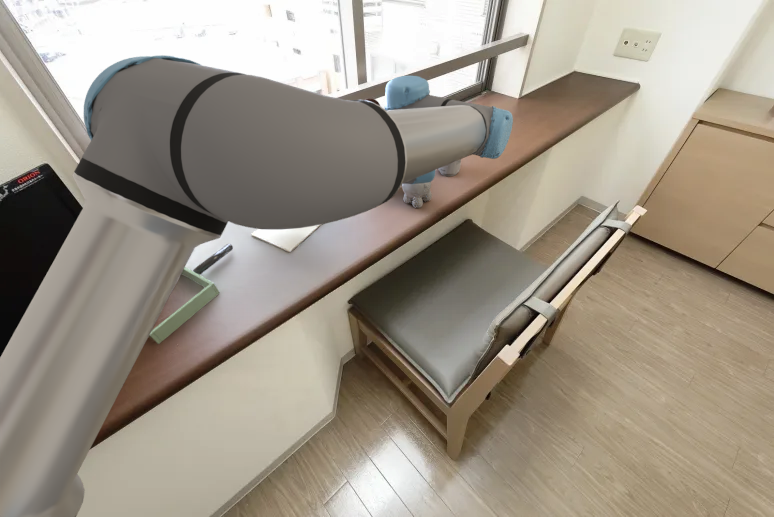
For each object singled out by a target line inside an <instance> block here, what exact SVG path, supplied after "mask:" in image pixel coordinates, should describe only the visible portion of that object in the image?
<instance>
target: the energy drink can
mask: <svg viewBox="0 0 774 517" xmlns="http://www.w3.org/2000/svg"><path fill="white" fill-rule="evenodd" d="M461 165H462V159H460V160H458V161H455V162H453V163H451V164H448V165H446V166H443V167H441V168H439V169H437V170H438V172H439V173H440V174H441V175H442V176H444V177H454V176H456V175H457V174H458V173H459V172H460V170H461Z"/></svg>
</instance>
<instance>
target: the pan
mask: <svg viewBox="0 0 774 517" xmlns="http://www.w3.org/2000/svg"><path fill="white" fill-rule="evenodd" d="M233 249H234V246H233V245H232V244H231V243H227V244H225V245H224V246H223V247H221V248H220V249H219V250H217V251H215V253H213V254H212V255H210V256H209V257H208V258H206V259H205V260H204V261H203V262H201V263H199V264H198V265H197V266H196V267H194V268H193V270H191V269H190V268H188V267H186V266H185V268H184V269H183V271H182V273H181V275H182V276H184V277H185V278H188V279H189V280H191V281H193V282H194V283H196V284H198V285H199V286H202V287H203V289H201V290H199V292H198V293H196V294H195V295H194V296H193V297H191V298H190V299H188V300H187V301H186V302H185V303H184V304H183V305H181V306H180V307H179V308H178V309H176V310H175V311H173V313H171V314H170V315H169V316H168V317H166V318H165V319H164V320H163V321H161V322H160V323H159V324H158V325H157V326H154V327H153V329H152V331H151V333H150V335H149V337H148V338H149V339H151V340H152V341H154V343H156V344H158V345H160V344H161V343H162V342H164V341H165V340H166V339H167V338H168V337H169V336H171V335H172V334H173V333H174V332H175V331H177V330H178V329H179V328H180V327H181V326H183V324H185V323H186V322H187V321H188V320H190V319H191V318H192V317H193V316H194V315H195V314H196V313H198V312H200V310H201V309H203V308H204V307H205V306H206V305H208V304H209V303H210V302H211V301H212V300H213V299H215V298H216V297H217V296H218V295H220V291H219V289H218V287H217V286H216V284H215V283H214V282H213V281H212V280H209V279H208V278H206V277H204V276H203V275H202V274H203V273H205V272H206V271H207V270H209V269H210V268H211V267H212V266H214V265H215V264H216V263H217V262H218V261H220V260H221V259H223V258H224V257H225V256H226V255H228V254H229V253H230V252H232V251H233Z"/></svg>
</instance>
